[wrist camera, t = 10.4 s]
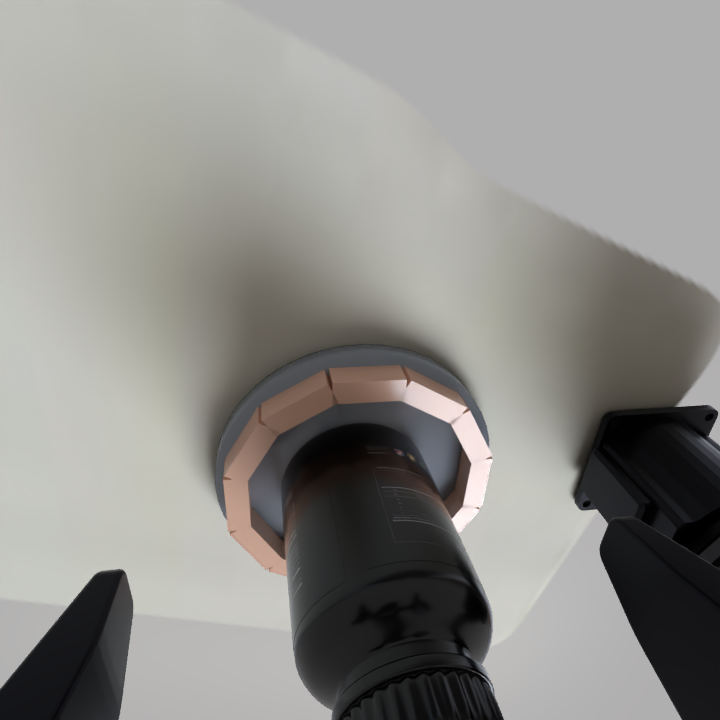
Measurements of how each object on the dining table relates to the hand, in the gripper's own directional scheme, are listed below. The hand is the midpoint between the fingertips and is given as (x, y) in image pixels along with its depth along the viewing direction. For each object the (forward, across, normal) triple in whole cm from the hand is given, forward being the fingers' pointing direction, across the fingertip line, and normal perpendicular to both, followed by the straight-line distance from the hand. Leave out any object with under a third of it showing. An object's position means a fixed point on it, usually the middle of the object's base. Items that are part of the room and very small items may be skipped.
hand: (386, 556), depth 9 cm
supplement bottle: (+12, -2, +9) cm, 15 cm away
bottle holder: (+13, -2, +9) cm, 16 cm away
